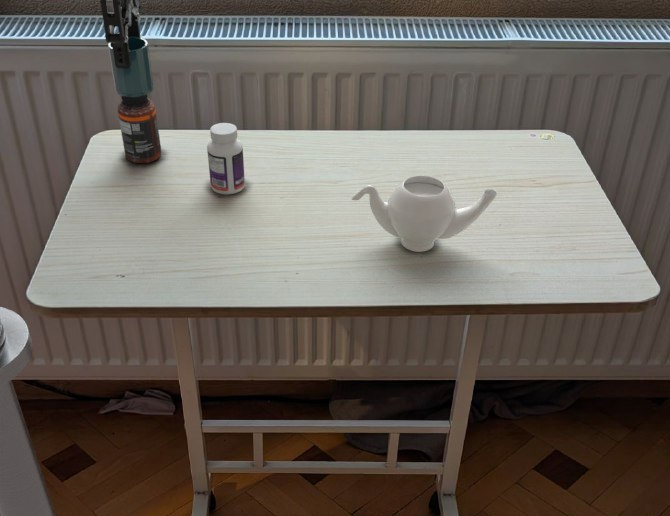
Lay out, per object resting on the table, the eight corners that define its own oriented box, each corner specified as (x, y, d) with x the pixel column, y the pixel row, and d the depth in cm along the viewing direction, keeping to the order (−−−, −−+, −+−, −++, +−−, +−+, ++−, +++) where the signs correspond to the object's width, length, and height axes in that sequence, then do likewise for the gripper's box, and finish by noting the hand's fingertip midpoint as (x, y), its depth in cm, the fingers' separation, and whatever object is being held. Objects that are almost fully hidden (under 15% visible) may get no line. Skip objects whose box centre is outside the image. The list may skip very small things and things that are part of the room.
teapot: (353, 219, 125) (356, 162, 119) (486, 232, 124) (496, 175, 117) (345, 254, 118) (347, 196, 112) (486, 268, 117) (496, 210, 110)
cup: (129, 100, 127) (122, 54, 122) (108, 88, 130) (100, 43, 125) (160, 90, 130) (155, 44, 125) (139, 78, 133) (132, 33, 128)
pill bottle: (239, 176, 134) (236, 118, 127) (249, 192, 130) (246, 133, 123) (206, 181, 132) (201, 123, 126) (215, 197, 129) (210, 138, 122)
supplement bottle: (152, 144, 141) (143, 78, 133) (167, 159, 137) (159, 92, 129) (119, 153, 138) (108, 86, 130) (134, 168, 135) (123, 100, 127)
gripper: (96, -77, 120) (113, 38, 131) (72, -48, 110) (94, 74, 121) (148, -75, 120) (161, 39, 132) (129, -46, 110) (145, 76, 121)
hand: (129, 56), depth 126 cm, fingers open, 8 cm apart
